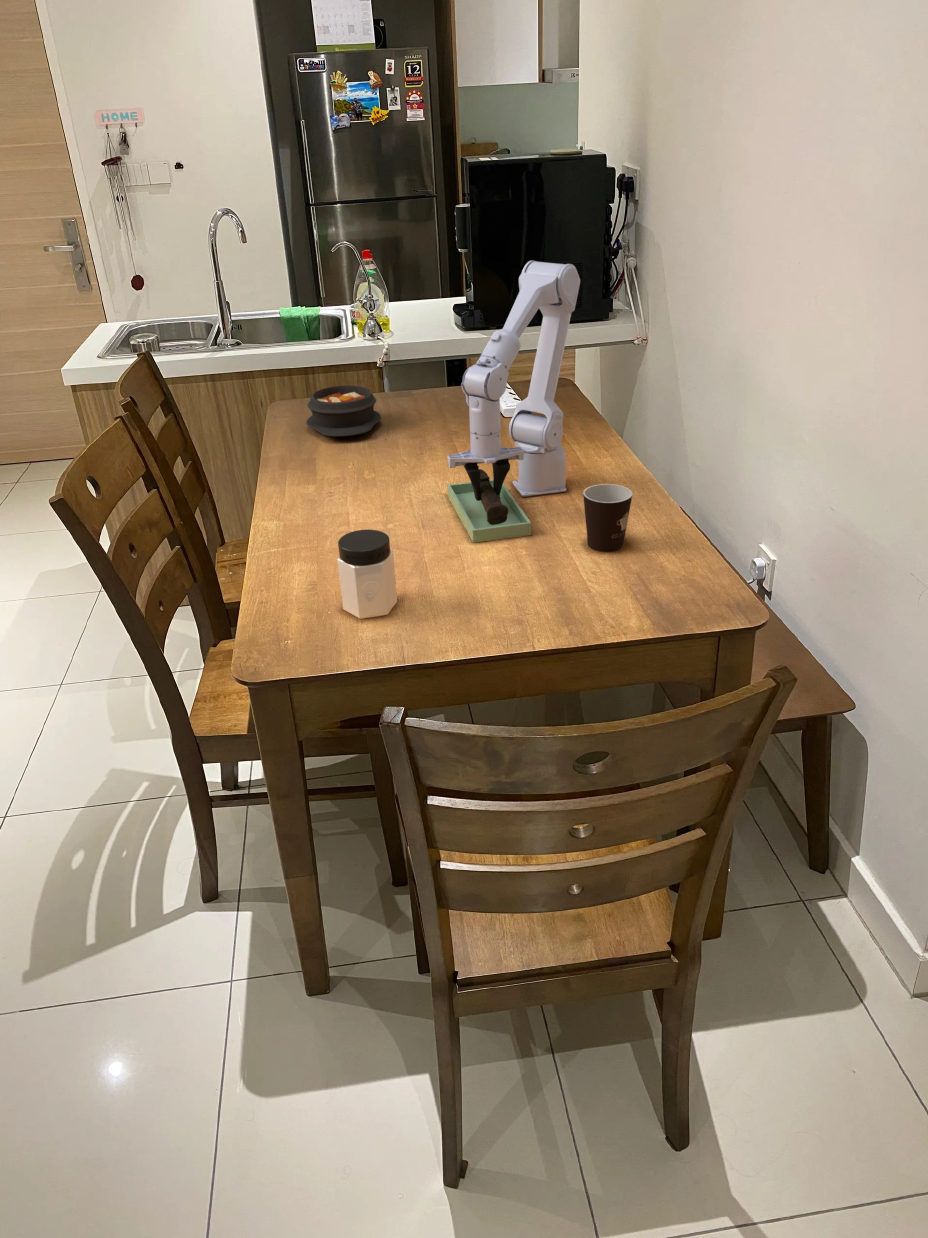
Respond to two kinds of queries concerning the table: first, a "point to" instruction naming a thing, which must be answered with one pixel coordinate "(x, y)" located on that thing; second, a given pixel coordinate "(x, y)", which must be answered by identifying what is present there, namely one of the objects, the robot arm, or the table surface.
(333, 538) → the table surface
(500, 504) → the hand tool
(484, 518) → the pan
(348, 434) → the casserole
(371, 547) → the jar
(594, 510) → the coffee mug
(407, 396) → the table surface
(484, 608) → the table surface
